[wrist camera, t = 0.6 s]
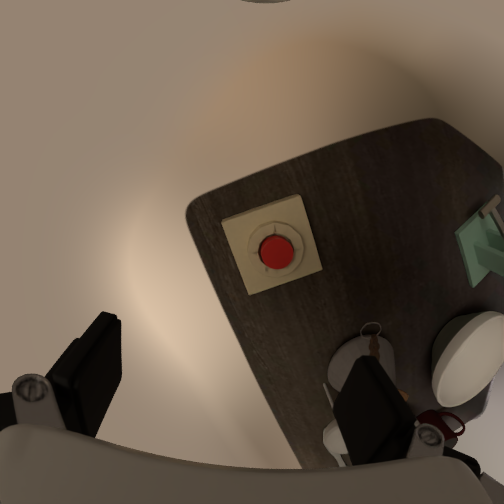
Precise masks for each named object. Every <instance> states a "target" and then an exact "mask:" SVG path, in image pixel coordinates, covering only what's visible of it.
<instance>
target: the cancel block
mask: <svg viewBox="0 0 504 504" xmlns="http://www.w3.org/2000/svg"><path fill="white" fill-rule="evenodd" d="M221 224H222V226H223V229H224V231H225V234H226V237H227V239H228V242H229V245H230V247H231V250H232V252H233V255H234V258H235V260H236V263H237V265H238V268H239V271H240V273H241V276H242V278H243V281H244V284H245V286H246V289H247V291H248V294H249V295H252V294H255V293H258V292H261V291H264V290H266V289H269V288H272V287H275V286H278V285H281V284H284V283H287V282H289V281H292V280H295V279H298V278H301V277H303V276H306V275H309V274H312V273H315V272H317V271H320V270H322V266H321V262H320V259H319V255H318V252H317V248H316V245H315V241H314V238H313V234H312V231H311V228H310V224H309V221H308V218H307V214H306V211H305V208H304V205H303V202H302V198H301V196H300V195H298V194H295V195H292V196H289V197H286V198H283V199H280V200H277V201H274V202H271V203H268V204H265V205H262V206H259V207H257V208H254V209H251V210H248V211H245V212H242V213H240V214H237V215H234V216H231V217H228V218H226V219H223V220H222V223H221ZM274 235H278V236H282V237H284V238H285V239H287V240H288V242H289V243H290V245H291V246H292V248H293V258H292V261H291V262H290V264H289V265H288V266H286V267H285V268H282V269H272V268H269V267H268V266H266V265H265V263H264V262H263V260H262V256H261V252H260V250H261V245H262V243H263V242H264V241H265V240H266V239H267V238H268V237H270V236H274Z"/></svg>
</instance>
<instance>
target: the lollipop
mask: <svg viewBox="0 0 504 504" xmlns="http://www.w3.org/2000/svg"><path fill="white" fill-rule="evenodd" d="M323 385H324V388H325V391H326V393H327V396H328V398H329V401H330V404H331V406H332V409H333V404H334V403H333V401H332V398H331V396H330V393H329V391H328V388H327V386H326V383H324V384H323ZM324 442H325V445H326V446H327V448H328V449H329V450H331V451H332V452H334V453H337V454H347V453H348V451H347V448H346V446H345V443H344V440H343V437H342V435H341V432H340V429H339V427H338V424H337V421H336V419H334V420H333V421H331V422H330V423H329V424H328V426H327V427H326V429H325V432H324Z"/></svg>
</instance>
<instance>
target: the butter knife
mask: <svg viewBox="0 0 504 504" xmlns="http://www.w3.org/2000/svg"><path fill="white" fill-rule="evenodd" d="M325 429H326V428H325ZM325 429H324V432H325ZM323 443H324V445H325V442H324V433H323ZM325 446H326V445H325ZM326 448H327V446H326ZM327 449H328V448H327ZM328 451H329V452H330V453H331V454H332V455H333V456H334V457H335V458H336V460H337V461H338V464H339V467H346V465H345V463H344V462H343V460H342V458H341V455H340V454H337V453H334V452H332V451H331V450H329V449H328Z"/></svg>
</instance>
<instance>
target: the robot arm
mask: <svg viewBox="0 0 504 504" xmlns="http://www.w3.org/2000/svg"><path fill="white" fill-rule="evenodd" d="M121 361H122V360H121V320H119V319H117V316H116V315H115V314H111V313H108V312H104V311H103V312H101V313H100V314H99V316H98V317H97V318H96V319H95V320H94V321H93V323H92V324H91V325H90V326H89V328H88V329H87V330H86V331H85V332H84V334H83V335H82V336H81V337H80V338H76V339H75V340H73V342H72V343H71V344H70V345H69V346H68V348H67V349H66V350H65V351H64V353H63V354H62V355H61V356H60V358H59V359H58V360H57V361H56V363H55V364H54V365H53V367H52V368H51V369H50V370H49V372H48V373H47V374H46V376H45V377H43V376H41V375H38V374H25V375H23V376H20V377H18V378H17V379H16V380H15V381H14V383H13V385H12V392H8V393H1V394H0V504H504V486H503V485H502V484H500V483H499V482H497V481H496V480H494V479H493V478H492V477H490V476H489V475H487V474H486V473H484V472H483V473H482V474H480V472H481V469H480V465H479V464H478V462H477V460H475V459H474V458H472V457H470V456H468V455H465V454H463V453H461V452H458V451H456V450H454V449H451V448H449V447H447V446H444V436H443V433H442V432H441V431H440V430H439V429H438V428H437V427H435V426H433V425H431V424H427V423H422V424H419V425H418V426H415V425H414V423H415V422H416V420H417V418H416V417H415V415H414V414H413V412H412V410H411V409H410V407H409V406H408V404H407V403H406V401H405V400H404V398H403V397H402V395H401V394H400V392H399V391H398V389H397V388H396V386H395V385H394V383H393V382H392V380H391V379H390V377H389V376H388V374H387V373H386V371H385V370H384V368H383V367H382V365H381V364H380V362H379V361H378V360H377V358H376V357H375V356H369V355H362V356H360V357H359V358H357V359H356V360H355V362H354V364H353V366H352V369H351V371H350V373H349V375H348V377H347V379H346V381H345V383H344V385H343V387H342V389H341V391H340V393H339V395H338V397H337V399H336V400H335V402H334V404H333V413H334V416H335V419H336V421H337V424H338V427H339V429H340V432H341V435H342V437H343V440H344V443H345V446H346V448H347V451H348V454H349V456H350V459H351V462H352V465H353V466H346V467H334V468H318V469H260V468H243V467H232V466H222V465H213V464H206V463H199V462H192V461H186V460H181V459H175V458H170V457H165V456H160V455H156V454H152V453H147V452H143V451H139V450H135V449H131V448H127V447H124V446H120V445H116V444H113V443H110V442H106V441H103V440H100V439H96V438H95V437H96V434H97V432H98V430H99V427H100V425H101V423H102V421H103V418H104V416H105V414H106V411H107V409H108V407H109V405H110V403H111V401H112V398H113V396H114V394H115V392H116V390H117V387H118V386H119V383H120V381H121V377H122V362H121Z"/></svg>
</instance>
